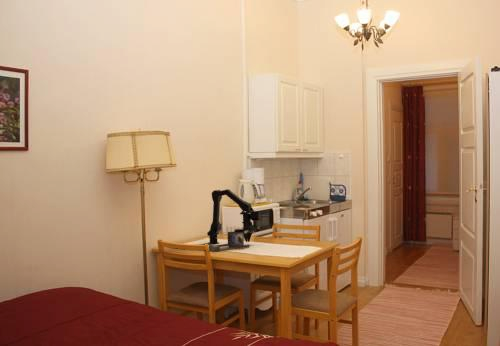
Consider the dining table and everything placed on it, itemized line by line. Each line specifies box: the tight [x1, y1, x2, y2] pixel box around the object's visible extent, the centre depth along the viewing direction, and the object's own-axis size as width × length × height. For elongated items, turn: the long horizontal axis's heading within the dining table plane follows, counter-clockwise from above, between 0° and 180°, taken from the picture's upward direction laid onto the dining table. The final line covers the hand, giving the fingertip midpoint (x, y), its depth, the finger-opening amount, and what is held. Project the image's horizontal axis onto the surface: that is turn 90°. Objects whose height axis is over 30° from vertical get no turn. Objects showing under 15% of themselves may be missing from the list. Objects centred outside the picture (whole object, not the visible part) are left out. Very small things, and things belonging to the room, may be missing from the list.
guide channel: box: [207, 243, 250, 253], centre depth 330 cm, size 15×27×3 cm, turn 124°
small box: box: [227, 231, 245, 248], centre depth 333 cm, size 11×6×10 cm, turn 106°
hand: (247, 242), depth 339 cm, fingers closed
